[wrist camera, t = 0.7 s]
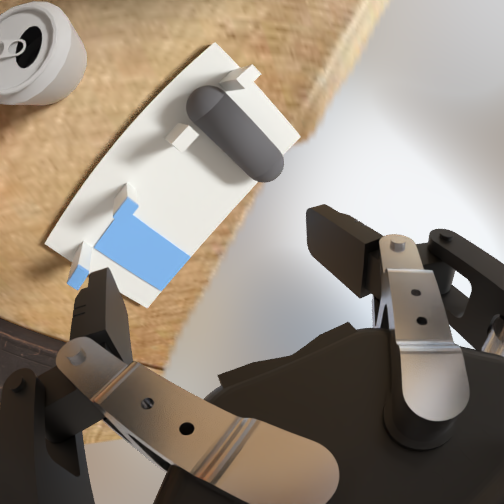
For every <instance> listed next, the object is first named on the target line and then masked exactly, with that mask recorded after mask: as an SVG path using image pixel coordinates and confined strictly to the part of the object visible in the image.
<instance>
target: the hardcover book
mask: <svg viewBox="0 0 504 504" xmlns="http://www.w3.org/2000/svg"><path fill="white" fill-rule="evenodd" d="M65 344H66V342H63V341H59V340H56V339H54V338H51V337H48V336H45V335H42V334H39V333H36V332H34V331H31V330H28V329H26V328H23V327H20V326H18V325H15V324H13V323H10V322H8V321H5V320H3V319H1V318H0V402H1V395H2V388H3V385H4V383H5V381H6V379H7V378H8V377H9V376H10V375H11V374H12V373H13V372H14V371H16V370H18V369H21V368H29V369H31V370H32V371H33V372H34V373H35V374H36V376H37V377H38V376H39V375H41V374H43V373H45V372H46V371H48V370H50V369H52V368H53V367H55V366H56V357H57V354H58V352H59V350H60V349H61V348H62V347H63V346H64V345H65Z"/></svg>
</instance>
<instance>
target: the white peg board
mask: <svg viewBox="0 0 504 504" xmlns="http://www.w3.org/2000/svg"><path fill="white" fill-rule="evenodd" d="M260 75H261V73H260V72H259V71H258V70H257V69H256V68H255V67H254V65H253V64H251V65H248V66H244V67H241V68H240V67H239V66H238V65H237V64H236V63H235V62H234V61H233V60H232V59H231V58H230V57H229V56H228V55H227V54H226V53H225V52H224V51H223V50H222V49H221V48H220V47H219V46H218V45H217V44H216V43H215V42H214V43H213V44H211V45H210V46H209V47H208V48H207V49H206V50H204V51H203V52H202V53H201V54H200V55H199V56H198V57H196V58H195V59H194V60H193V61H192V62H191V63H190V64H189V65H188V66H187V67H186V68H184V69H183V70H182V71H181V72H180V73H179V74H178V75H177V76H176V77H175V78H174V79H173V80H172V81H171V82H170V83H169V84H168V85H167V86H166V87H165V88H164V89H163V90H162V91H161V92H160V93H159V94H158V95H157V96H156V97H155V98H154V99H153V100H152V101H151V102H150V103H149V104H148V106H147V107H146V108H145V109H144V110H143V111H142V112H141V113H140V114H139V115H138V116H137V118H136V119H135V120H134V121H133V122H132V123H131V124H130V125H129V127H128V128H127V129H126V130H125V131H124V132H123V134H122V135H121V136H120V137H119V138H118V140H117V141H116V142H115V143H114V144H113V146H112V147H111V148H110V149H109V151H108V152H107V153H106V154H105V156H104V157H103V158H102V159H101V161H100V162H99V163H98V165H97V166H96V167H95V169H94V170H93V171H92V173H91V174H90V175H89V177H88V178H87V179H86V181H85V182H84V183H83V185H82V186H81V188H80V189H79V190H78V192H77V193H76V195H75V196H74V198H73V199H72V201H71V202H70V204H69V205H68V206H67V208H66V210H65V211H64V213H63V214H62V216H61V217H60V219H59V220H58V222H57V223H56V225H55V227H54V228H53V230H52V232H51V233H50V235H49V236H48V238H47V240H46V242H45V244H46V245H47V246H49V247H50V248H52V249H53V250H54V251H56V252H57V253H59V254H60V255H62V256H63V257H65V258H66V259H68V260H69V261H71V262H72V264H71V268H70V272H69V277H68V281H67V284H68V285H70V286H71V287H73V288H75V289H76V290H78V289H79V288H80V286H81V285H82V283H83V282H84V280H85V279H86V277H87V276H88V275H89V274H90V273H91V272H94V271H97V270H100V269H103V268H107V267H109V269H110V270H111V273H112V275H113V277H114V280H115V282H116V285H117V287H118V289H119V292H120V293H122V294H123V295H125V296H127V297H129V298H130V299H132V300H134V301H135V302H137V303H139V304H141V305H142V306H144V307H146V308H148V307H149V306H150V304H151V303H152V302H153V301H154V300H155V298H156V297H157V296H158V295H159V294H160V292H161V291H162V290H163V289H164V288H165V287H166V285H167V284H168V283H169V282H170V281H171V279H172V278H173V277H174V276H175V275H176V274H177V272H178V271H179V270H180V269H181V268H182V267H183V265H184V264H185V263H186V262H187V261H188V260H189V258H190V257H191V256H192V255H193V254H194V253H195V251H196V250H197V249H198V248H199V247H200V246H201V245H202V243H203V242H204V241H205V240H206V239H207V238H208V237H209V236H210V234H211V233H212V232H213V231H214V230H215V229H216V228H217V226H218V225H219V224H220V223H221V222H222V221H223V220H224V219H225V218H226V216H227V215H228V214H229V213H230V212H231V211H232V210H233V209H234V208H235V206H236V205H237V204H238V203H239V202H240V201H241V200H242V199H243V198H244V197H245V195H246V194H247V193H248V192H249V191H250V190H251V189H252V188H253V187H254V186H255V185H256V183H257V182H258V181H255V180H253V179H252V178H251V177H249V176H248V175H247V174H246V173H245V172H244V171H243V170H242V169H241V168H240V167H239V166H238V165H237V164H236V163H235V162H234V161H233V160H232V159H231V158H230V157H229V156H228V155H227V154H226V153H225V152H224V151H223V150H222V149H221V148H220V147H219V146H217V145H216V144H215V143H214V142H213V141H212V140H211V139H210V138H209V137H208V136H207V135H206V134H205V133H204V132H203V131H202V130H201V129H200V128H198V127H197V126H196V125H195V124H194V123H193V122H192V121H191V120H190V119H189V117H188V115H187V112H186V102H187V99H188V97H189V96H190V94H191V93H192V92H193V91H194V90H195V89H197V88H199V87H202V86H206V85H211V86H216V87H219V88H221V89H222V90H223V91H224V92H225V93H226V94H227V95H228V96H229V97H230V98H231V99H232V100H233V101H234V102H235V103H236V104H237V105H238V106H239V107H240V108H241V109H242V110H243V111H244V112H245V113H246V114H247V115H248V116H249V117H250V118H251V120H252V121H253V122H254V123H255V124H256V125H257V126H258V127H259V128H260V129H261V130H262V131H263V133H264V134H265V135H266V136H267V137H268V138H269V139H270V140H271V141H272V142H273V144H274V145H275V146H276V147H277V148H278V149H279V151H280V152H281V153H282V156H283V155H284V154H285V152H286V151H287V150H288V149H289V148H290V147H291V146H292V145H293V144H294V143H295V142H296V141H297V140H298V139H299V138H300V137H301V136H300V135H299V134H298V133H297V131H296V130H295V129H294V128H293V127H292V125H291V124H290V123H289V122H288V121H287V119H286V118H285V117H284V116H283V115H282V114H281V112H280V111H279V110H278V109H277V108H276V107H275V105H274V104H273V103H272V102H271V101H270V100H269V99H268V97H267V96H266V95H265V94H264V93H263V92H262V91H261V90H260V89H259V87H258V86H257V85H256V84H255V83H254V82H253V81H254V80H256V79H257V78H258V77H259V76H260Z"/></svg>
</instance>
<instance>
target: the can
mask: <svg viewBox="0 0 504 504" xmlns="http://www.w3.org/2000/svg"><path fill="white" fill-rule="evenodd" d="M86 66H87V53H86V50H85V47H84V44H83V42H82V41H81V39H80V37H79V36H78V34H77V32H76V31H75V29H74V27H73V26H72V24H71V22H70V20H69V19H68V17H67V16H66V15H65V14H64V12H63V11H62V10H61V9H60V8H59V7H57V6H55V5H53V4H51V3H49V2H36V1H33V2H29V3H25V4H22V5H18V6H15V7H12V8H10V9H9V10H7V11H6V12H4V13H2V14H1V15H0V104H7V105H48V104H53V103H56V102H58V101H60V100H62V99H64V98H65V97H67V96H68V95H69V94H70V93H71V92H72V91H73V90H74V89H75V88H76V87H77V85H78V84H79V82H80V81H81V79H82V78H83V75H84V72H85V69H86Z"/></svg>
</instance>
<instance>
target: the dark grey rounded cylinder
mask: <svg viewBox="0 0 504 504" xmlns="http://www.w3.org/2000/svg"><path fill="white" fill-rule="evenodd" d="M186 112H187V115H188V117H189V119H190V120H191V121H192V122H193V123H194V124H195V125H196V126H197V127H198V128H200V129H201V130H202V131H203V132H204V133H205V134H206V135H207V136H208V137H209V138H210V139H211V140H212V141H213V142H214V143H215V144H216V145H217V146H219V147H220V148H221V149H222V150H223V151H224V152H225V153H226V154H227V155H228V156H229V157H230V158H231V159H232V160H233V161H234V162H235V163H236V164H237V165H238V166H239V167H240V168H241V169H242V170H243V171H244V172H245V173H246V174H247V175H248V176H249V177H251V178H252V179H253V180H255V181H258V182H270V181H273V180H274V179H276V178H277V177H278V176H279V175H280V174H281V172H282V170H283V166H284V159H283V156H282V153H281V152H280V151H279V149H278V148H277V147H276V146H275V145H274V144H273V142H272V141H271V140H270V139H269V138H268V137H267V136H266V135H265V134H264V133H263V131H262V130H261V129H260V128H259V127H258V126H257V125H256V124H255V123H254V122H253V121H252V120H251V118H250V117H249V116H248V115H247V114H246V113H245V112H244V111H243V110H242V109H241V108H240V107H239V106H238V105H237V104H236V103H235V102H234V101H233V100H232V99H231V98H230V97H229V96H228V95H227V94H226V93H225V92H224V91H223V90H222V89H221V88H219V87H216V86H211V85H206V86H202V87H199V88H197V89H195V90H194V91H193V92H192V93H191V94H190V96H189V97H188V99H187V102H186Z"/></svg>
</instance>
